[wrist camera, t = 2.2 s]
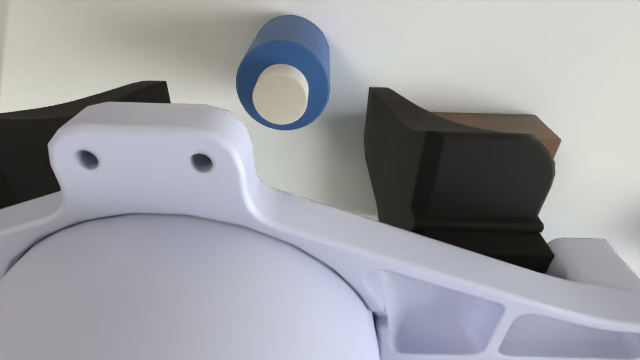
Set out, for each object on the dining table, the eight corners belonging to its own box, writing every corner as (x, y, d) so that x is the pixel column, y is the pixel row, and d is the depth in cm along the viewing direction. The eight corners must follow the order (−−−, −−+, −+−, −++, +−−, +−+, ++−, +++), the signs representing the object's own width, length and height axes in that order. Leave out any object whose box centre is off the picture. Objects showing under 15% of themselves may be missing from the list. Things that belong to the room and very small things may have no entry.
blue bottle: (330, 16, 19) (332, 50, 14) (327, 92, 21) (328, 145, 16) (250, 13, 19) (223, 47, 14) (256, 90, 21) (235, 142, 16)
